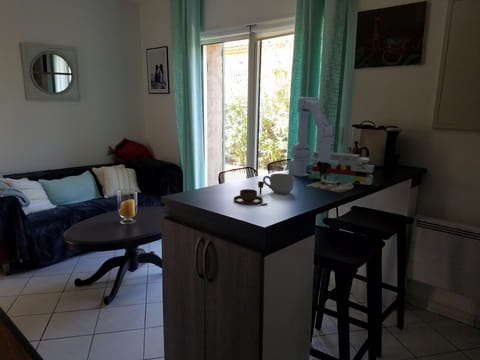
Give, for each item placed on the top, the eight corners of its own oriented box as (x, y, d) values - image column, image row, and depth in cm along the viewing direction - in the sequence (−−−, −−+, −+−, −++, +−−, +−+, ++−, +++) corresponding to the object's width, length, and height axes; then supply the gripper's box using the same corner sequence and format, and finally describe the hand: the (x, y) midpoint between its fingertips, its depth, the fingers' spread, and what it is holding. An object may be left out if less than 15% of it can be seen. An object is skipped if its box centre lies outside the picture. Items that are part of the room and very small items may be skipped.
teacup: (294, 191, 163) (295, 174, 161) (291, 197, 153) (292, 179, 151) (265, 188, 167) (266, 172, 165) (260, 194, 156) (261, 176, 155)
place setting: (223, 199, 147) (223, 186, 146) (259, 193, 159) (260, 180, 158) (249, 210, 134) (250, 195, 133) (287, 202, 146) (288, 188, 145)
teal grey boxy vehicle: (320, 184, 174) (321, 174, 173) (327, 182, 179) (328, 172, 178) (333, 187, 169) (334, 176, 168) (340, 184, 174) (341, 174, 173)
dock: (305, 187, 176) (305, 180, 175) (318, 183, 186) (318, 176, 185) (341, 194, 164) (342, 186, 163) (353, 189, 175) (353, 182, 174)
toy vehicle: (370, 187, 176) (373, 158, 173) (311, 180, 190) (313, 152, 186) (372, 184, 183) (375, 156, 180) (315, 177, 197) (317, 150, 194)
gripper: (307, 149, 175) (305, 176, 178) (334, 152, 166) (332, 180, 169) (314, 148, 180) (312, 174, 183) (341, 151, 172) (338, 178, 174)
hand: (322, 177), depth 177 cm, fingers closed
